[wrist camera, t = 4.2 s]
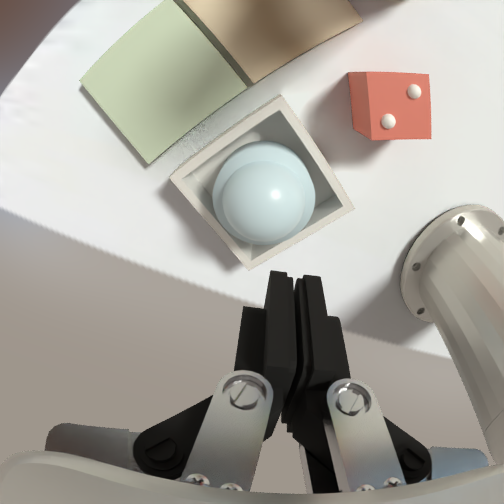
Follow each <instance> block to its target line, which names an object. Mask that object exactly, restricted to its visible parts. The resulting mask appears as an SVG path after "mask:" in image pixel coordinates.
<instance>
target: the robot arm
mask: <svg viewBox="0 0 504 504" xmlns="http://www.w3.org/2000/svg"><path fill="white" fill-rule="evenodd" d="M400 287H401V293H402V297H403V299H404V301H405V304H406V305H407V307H408V309H409V310H410V312H411V313H412V314H413V315H414V316H415V317H417V318H419V319H421V320H423V321H427V322H431V323H435V325H436V327H437V329H438V331H439V333H440V335H441V337H442V339H443V341H444V343H445V345H446V347H447V349H448V351H449V353H450V355H451V357H452V359H453V362H454V364H455V366H456V368H457V370H458V373H459V375H460V377H461V379H462V382H463V384H464V386H465V389H466V391H467V393H468V396H469V398H470V400H471V403H472V406H473V408H474V411H475V413H476V416H477V418H478V421H479V424H480V426H481V429H482V432H483V435H484V437H485V440H486V443H487V446H488V449H489V451H490V454H491V456H492V458H493V460H494V461H495V463H496V464H497V465H493V466H489V464H488V460H487V457H486V456H485V454H484V453H483V452H482V451H480V450H478V449H466V448H447V447H431V448H430V449H427V448H425V447H424V446H423V445H422V444H421V443H420V442H418V441H417V440H415V439H414V438H413V437H411V436H410V435H408V434H407V433H406V432H404V431H403V430H402V429H400V428H399V427H398V426H396V425H394V424H393V423H392V422H391V421H389V420H388V419H387V418H385V417H384V416H383V415H382V412H381V409H380V407H379V404H378V401H377V399H376V396H375V394H374V392H373V391H372V389H371V388H370V387H369V386H368V385H366V384H365V383H363V382H361V381H359V380H355V379H351V377H350V371H349V365H348V360H347V354H346V350H345V344H344V339H343V333H342V328H341V323H340V320H339V318H338V317H334V316H327V310H326V304H325V298H324V293H323V287H322V282H321V277H319V276H311V275H304V276H303V278H302V279H301V278H297V280H296V284H295V288H294V287H293V278H292V277H287V272H279V271H272V270H271V271H270V276H269V282H268V288H267V293H266V299H265V305H264V309H261V308H253V307H245V306H243V312H242V319H241V326H240V333H239V339H238V346H237V353H236V361H235V367H234V372H231V373H229V374H227V375H225V376H224V377H223V378H222V379H221V380H220V381H219V383H218V385H217V387H216V390H215V393H214V395H212V396H210V397H209V398H207V399H205V400H203V401H201V402H199V403H197V404H196V405H194V406H192V407H190V408H188V409H186V410H184V411H182V412H181V413H179V414H177V415H175V416H173V417H171V418H169V419H167V420H165V421H163V422H161V423H159V424H157V425H155V426H153V427H151V428H149V429H147V430H145V431H143V432H142V433H140V432H129V429H116V428H105V427H95V426H86V425H78V424H71V423H61V424H59V425H56V426H54V427H53V428H52V429H51V430H50V431H49V433H48V436H47V439H46V445H45V451H25V452H19V453H16V454H13V455H11V456H10V457H9V458H7V459H6V460H5V461H4V462H3V463H2V465H1V466H0V504H504V221H503V219H502V218H501V217H500V216H498V215H497V214H496V213H495V212H494V211H492V210H491V209H489V208H488V207H485V206H481V205H465V206H460V207H457V208H455V209H452V210H450V211H448V212H446V213H444V214H443V215H441V216H440V217H438V218H437V219H435V220H434V221H433V222H432V223H431V224H430V225H429V226H428V227H427V228H426V229H425V230H424V231H423V232H422V233H421V235H420V236H419V237H418V238H417V239H416V241H415V243H414V244H413V246H412V247H411V249H410V251H409V253H408V255H407V257H406V260H405V262H404V265H403V269H402V273H401V282H400ZM280 413H281V422H282V423H286V424H287V432H291V433H293V438H294V439H295V440H296V441H298V442H299V451H300V456H301V462H302V468H303V474H304V479H305V485H306V490H307V494H280V493H261V492H250V488H251V485H252V481H253V477H254V474H255V470H256V466H257V462H258V458H259V454H260V450H261V447H262V442H264V441H265V440H266V439H268V438H269V437H270V436H272V433H273V431H274V428H275V426H276V423H277V421H278V419H279V416H280Z"/></svg>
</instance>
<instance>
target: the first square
mask: <svg viewBox="0 0 504 504" xmlns="http://www.w3.org/2000/svg"><path fill="white" fill-rule="evenodd" d="M183 1H184V2H185V3H186V4H187V5H188V6H189V7H190V8H191V9H192V11H193V12H194V13H195V14H196V15H197V16H198V17H199V18H200V19H201V20H202V22H203V23H204V24H205V25H206V26H207V27H208V28H209V30H210V31H211V32H212V33H213V34H214V35H215V36H216V38H217V39H218V40H219V41H220V42H221V43H222V45H223V46H224V47H225V48H226V49H227V51H228V52H229V53H230V54H231V55H232V57H233V58H234V59H235V60H236V62H237V63H238V64H239V65H240V67H241V68H242V69H243V70H244V72H245V73H246V74H247V75H248V77H249V78H250V79H251V80H252V82H253V83H256V82H257V81H259V80H260V79H262V78H263V77H265V76H267V75H268V74H270V73H271V72H273V71H274V70H276V69H278V68H279V67H281V66H282V65H284V64H286V63H287V62H289V61H291V60H292V59H294V58H296V57H297V56H299V55H301V54H302V53H304V52H306V51H308V50H309V49H311V48H313V47H315V46H316V45H318V44H320V43H322V42H324V41H325V40H327V39H329V38H331V37H333V36H335V35H337V34H339V33H341V32H342V31H344V30H346V29H348V28H350V27H352V26H354V25H356V24H358V23H360V22H362V21H363V20H362V19H361V17H360V16H359V14H358V13H357V12H356V10H355V9H354V8H353V6H352V5H351V4H350V2H349V1H348V0H183Z"/></svg>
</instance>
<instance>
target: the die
mask: <svg viewBox="0 0 504 504" xmlns="http://www.w3.org/2000/svg"><path fill="white" fill-rule="evenodd" d="M348 79H349V87H350V97H351V107H352V119H353V129H354V130H356V131H358V132H359V133H361V134H362V135H364V136H366V137H367V138H369V139H370V140H396V139H431V102H430V85H429V74H416V73H398V72H348Z"/></svg>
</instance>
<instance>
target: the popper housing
mask: <svg viewBox="0 0 504 504" xmlns="http://www.w3.org/2000/svg"><path fill="white" fill-rule="evenodd" d="M254 141H273V142H277V143H280V144H283V145H285V146H287V147H289V148H290V149H292V150H293V151H294V152H295V153H296V154H297V155H298V156H299V157H300V158H301V160H302V161H303V163H304V164H305V166H306V169H307V171H308V173H309V175H310V178H311V180H312V183H313V186H314V190H315V206H314V210H313V213H312V216H311V218H310V220H309V221H308V223H307V224H306V226H305V227H304V228H303V229H302V230H301V231H300V232H299V233H298V234H296V235H295V236H293V237H292V238H290V239H288V240H286V241H283V242H281V243H277V244H272V245H256V244H251V243H248V242H245V241H242V240H240V239H238V238H236V237H235V236H233V235H232V234H230V233H229V232H228V231H227V230H226V229H225V228H224V227H223V226H222V224H221V223H220V221H219V220H218V218H217V216H216V213H215V211H214V207H213V199H212V197H213V188H214V184H215V182H216V179H217V177H218V175H219V172H220V170H221V168H222V166H223V164H224V162H225V160H226V159H227V158H228V156H229V155H230V154H231V153H232V152H233V151H235V150H236V149H237V148H239V147H241V146H242V145H245V144H247V143H250V142H254ZM169 178H170V179H171V181H172V182H173V183H174V184H175V185H176V187H177V188H178V189H179V190H180V191H181V192H182V194H183V195H184V196H185V197H186V198H187V200H188V201H189V202H190V203H191V204H192V205H193V207H194V208H195V209H196V210H197V211H198V212H199V214H200V215H201V216H202V217H203V218H204V219H205V221H206V222H207V223H208V224H209V225H210V226H211V228H212V229H213V230H214V231H215V232H216V233H217V235H218V236H219V237H220V238H221V239H222V240H223V242H224V243H225V244H226V245H227V246H228V247H229V249H230V250H231V251H232V252H233V253H234V254H235V255H236V257H237V258H238V259H239V260H240V261H241V262H242V264H243V265H244V266H245V267H246V268H247V269H248V270H251V269H253V268H255V267H256V266H258V265H260V264H261V263H263V262H265V261H267V260H268V259H270V258H272V257H274V256H275V255H277V254H279V253H280V252H282V251H284V250H286V249H287V248H289V247H291V246H293V245H294V244H296V243H298V242H299V241H301V240H303V239H305V238H306V237H308V236H310V235H311V234H313V233H315V232H317V231H318V230H320V229H322V228H323V227H325V226H327V225H328V224H330V223H332V222H334V221H335V220H337V219H339V218H340V217H342V216H344V215H345V214H347V213H349V212H350V211H352V210H354V209H355V208H354V206H353V204H352V202H351V201H350V199H349V197H348V196H347V194H346V192H345V191H344V189H343V187H342V185H341V184H340V182H339V181H338V179H337V177H336V176H335V174H334V172H333V171H332V169H331V167H330V166H329V164H328V163H327V161H326V160H325V158H324V156H323V155H322V153H321V152H320V150H319V149H318V147H317V146H316V144H315V143H314V141H313V139H312V138H311V136H310V135H309V133H308V132H307V131H306V129H305V128H304V126H303V125H302V123H301V122H300V120H299V119H298V117H297V116H296V114H295V113H294V112H293V110H292V109H291V107H290V106H289V105H288V103H287V102H286V100H285V99H284V98H283V96H282V95H281V94H279V95H277V96H276V97H274V98H273V99H271V100H270V101H268V102H267V103H265V104H264V105H262V106H261V107H259V108H258V109H256V110H255V111H253V112H252V113H250V114H249V115H247V116H246V117H244V118H243V119H242V120H240V121H239V122H237V123H236V124H234V125H233V126H232V127H230V128H229V129H227V130H226V131H225V132H223V133H222V134H220V135H219V136H218V137H216V138H215V139H214V140H212V141H211V142H210V143H208V144H207V145H206V146H204V147H203V148H202V149H200V150H199V151H198V152H196V153H195V154H194V155H192V156H191V157H190V158H189V159H187V160H186V161H185V162H184V163H182V164H181V165H180V166H179V167H178V168H177V169H176V170H175V171H174V172H173V173H172V174H171V176H170V177H169Z"/></svg>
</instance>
